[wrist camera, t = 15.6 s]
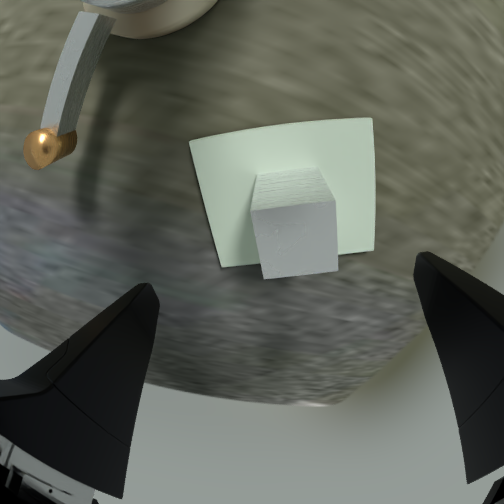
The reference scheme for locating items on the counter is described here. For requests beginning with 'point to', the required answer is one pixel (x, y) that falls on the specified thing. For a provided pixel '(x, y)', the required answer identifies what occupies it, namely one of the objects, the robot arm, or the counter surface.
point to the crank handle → (75, 81)
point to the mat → (279, 159)
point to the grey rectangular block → (294, 223)
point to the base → (155, 18)
